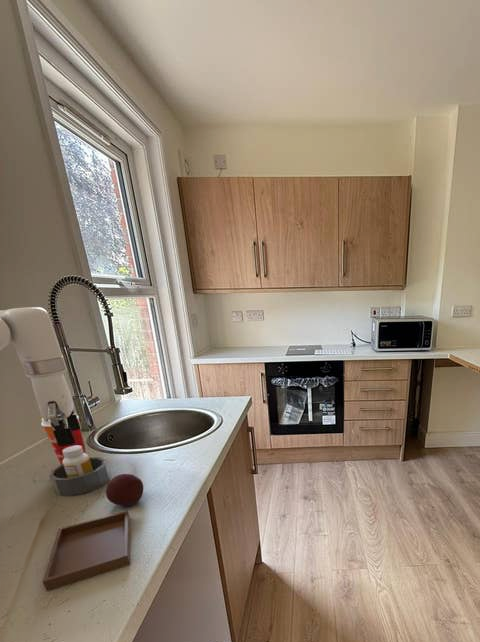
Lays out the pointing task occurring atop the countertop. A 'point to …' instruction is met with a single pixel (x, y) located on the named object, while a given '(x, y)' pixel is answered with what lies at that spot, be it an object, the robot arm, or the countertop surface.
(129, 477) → the dark red plum
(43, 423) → the coffee cup
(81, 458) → the supplement bottle
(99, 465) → the grey round bowl
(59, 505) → the countertop surface
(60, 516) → the countertop surface
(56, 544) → the tray
